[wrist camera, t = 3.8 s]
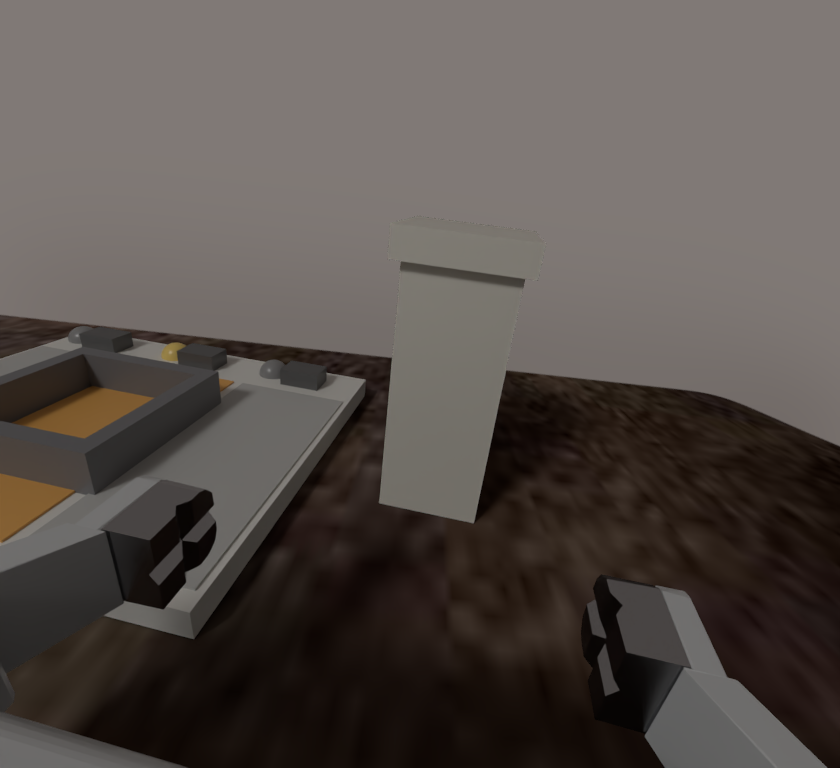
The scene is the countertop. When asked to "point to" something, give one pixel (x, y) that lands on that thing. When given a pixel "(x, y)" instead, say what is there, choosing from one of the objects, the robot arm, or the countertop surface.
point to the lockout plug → (450, 357)
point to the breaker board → (163, 443)
